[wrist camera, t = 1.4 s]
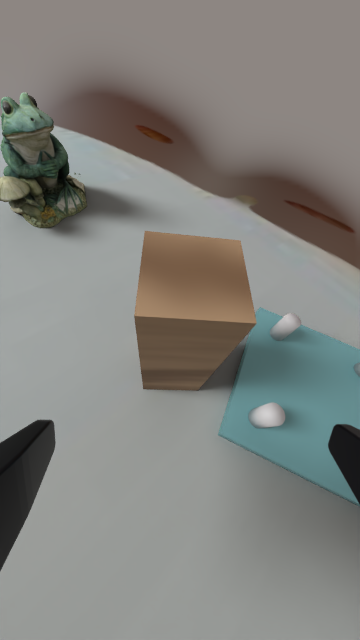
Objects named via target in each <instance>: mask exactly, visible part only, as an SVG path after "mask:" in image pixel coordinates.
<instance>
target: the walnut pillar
mask: <svg viewBox="0 0 360 640" xmlns="http://www.w3.org/2000/svg"><path fill="white" fill-rule="evenodd" d="M134 317H135V325H136V333H137V341H138V349H139V358H140V366H141V374H142V382H143V389H161V390H196V391H198V390H199V389H200V387H201V386H202V385H203V384H204V383H205V382H206V381H207V379H208V378H209V377H210V376H211V375H212V374H213V373H214V371H215V370H216V369H217V368H218V367H219V366H220V365H221V364H222V362H223V361H224V360H225V359H226V358H227V357H228V356H229V354H230V353H231V352H232V351H233V350H234V349H235V348H236V346H237V345H238V344H239V343H240V342H241V341H242V340H243V338H244V337H245V336H246V335H247V334H248V333H249V332H250V331H251V329H252V328H253V327H254V326H255V325H256V324H257V322H256V317H255V312H254V307H253V302H252V297H251V292H250V287H249V282H248V277H247V272H246V267H245V261H244V256H243V251H242V246H241V241H239V240H229V239H219V238H209V237H200V236H190V235H180V234H170V233H160V232H150V231H145V234H144V242H143V250H142V258H141V266H140V275H139V283H138V291H137V299H136V307H135V315H134Z"/></svg>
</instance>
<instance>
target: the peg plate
mask: <svg viewBox="0 0 360 640" xmlns="http://www.w3.org/2000/svg"><path fill="white" fill-rule="evenodd" d="M255 317H256V322H257V324H256V325H255V326H254V327H253V328H252V329H251V331H250V334H249V337H248V340H247V343H246V346H245V350H244V353H243V356H242V359H241V363H240V366H239V369H238V372H237V375H236V379H235V382H234V385H233V388H232V392H231V395H230V398H229V401H228V404H227V408H226V411H225V414H224V417H223V421H222V424H221V427H220V430H219V433H218V435H219V436H221V437H223V438H225V439H227V440H229V441H231V442H233V443H235V444H237V445H239V446H241V447H243V448H245V449H247V450H249V451H251V452H253V453H255V454H257V455H259V456H261V457H263V458H265V459H267V460H268V461H270V462H272V463H274V464H276V465H278V466H280V467H282V468H284V469H286V470H288V471H290V472H292V473H294V474H296V475H298V476H300V477H302V478H304V479H306V480H308V481H310V482H312V483H314V484H316V485H318V486H320V487H322V488H324V489H326V490H328V491H330V492H332V493H334V494H336V495H338V496H340V497H342V498H344V499H346V500H348V501H350V502H352V503H354V504H356V505H358V506H360V504H359V502H358V501H357V499H356V497H355V496H354V494H353V492H352V490H351V489H350V487H349V485H348V483H347V482H346V480H345V478H344V476H343V474H342V473H341V471H340V469H339V467H338V466H337V464H336V462H335V460H334V459H333V457H332V455H331V453H330V451H329V449H328V442H329V439H330V436H331V433H332V429H333V427H334V426H335V425H336V424H349V425H351V426H353V427H355V428H357V429H359V430H360V350H359V349H357V348H355V347H352V346H350V345H348V344H345V343H343V342H341V341H338V340H336V339H333V338H331V337H329V336H326V335H324V334H322V333H319V332H317V331H315V330H312V329H310V328H308V327H305V326H303V325H301V320H300V318H299V317H298V316H297V315H296V314H293V313H288V314H286V315H285V316H284V317H282V316H279V315H277V314H275V313H272V312H270V311H268V310H265V309H263V308H261V307H260V308H259V309H258V310H257V312H256V314H255Z"/></svg>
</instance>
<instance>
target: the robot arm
mask: <svg viewBox="0 0 360 640" xmlns="http://www.w3.org/2000/svg"><path fill="white" fill-rule="evenodd" d="M54 449H55V431H54V423H53V421H52V420H37V421H35V422H33V423H31V424H30V425H28V426H27V427H25V428H23V429H22V430H20V431H19V432H17V433H15V434H14V435H12V436H11V437H9V438H7V439H6V440H4V441H3V442H1V443H0V571H1V569H2V567H3V565H4V563H5V561H6V559H7V557H8V555H9V553H10V551H11V549H12V547H13V545H14V543H15V541H16V539H17V537H18V535H19V533H20V531H21V529H22V527H23V525H24V523H25V520H26V518H27V516H28V514H29V512H30V510H31V507H32V505H33V502H34V500H35V497H36V495H37V492H38V490H39V487H40V485H41V482H42V480H43V477H44V475H45V472H46V470H47V467H48V465H49V462H50V460H51V457H52V455H53V452H54ZM328 449H329V451H330V453H331V455H332V457H333V459H334V460H335V462H336V464H337V466H338V467H339V469H340V471H341V473H342V474H343V476H344V478H345V480H346V482H347V483H348V485H349V487H350V489H351V490H352V492H353V494H354V496H355V497H356V499H357V501H358V502H359V504H360V430H359V429H357V428H355V427H353V426H351V425H349V424H336V425H335V426H334V427H333V429H332V433H331V436H330V439H329V442H328Z"/></svg>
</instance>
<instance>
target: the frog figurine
mask: <svg viewBox="0 0 360 640" xmlns="http://www.w3.org/2000/svg"><path fill="white" fill-rule="evenodd" d="M1 107H2V111H3V113H2V116H1V117H2V119H1V120H2V130H3V132H2V134H3V140H2V144H1V151H2V154H3V158H4V159H5V161H6V163H7V164H8V165H9V166H7V167H6V168H5V169H4V176H3V177H0V201H4V202H8V201H9V205H10V206H11V209H12V210H13V211H14V212H15V213H18V214H21V215H23V217H24V218H25V220H26V221H28V222H29V223H30V224H31V225H33V226H35V227H39V228H48V227H53V226H55V225H57V224H58V223H59V222H60V221H61V220H62V219H64V218H65V217H68V216H72V215H74V214H76V213H78V212H80V211H81V210H83V209H84V208H86V207H87V203H86V198H85V191H84V184H83V183H81V182H79V181H78V180H77V179H75V178H73V177H71V176H70V175H68V174H69V163H68V155H67V152H66V150H65V149H64V147H63V145H62V144H61V143H60V142H59V140H58V139H57V138H56V137H55V136H53V135H52V134H51V133H50V132H51V131H52V130H53V128H54V126H53V120H52V119H51V117H49V116H48V115H47V114H45V113H44V112H42V111H41V110H39V108H37V103H36V101H35V99H34V98H33V97H32V96H29V95H28V93H22V94H21V96H20V105H18V104H17V103H16V102H15V101H14V100H12V99H11V98H10V97H4V98H2V100H1ZM75 174H76V173H75ZM79 175H81V174H79Z"/></svg>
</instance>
